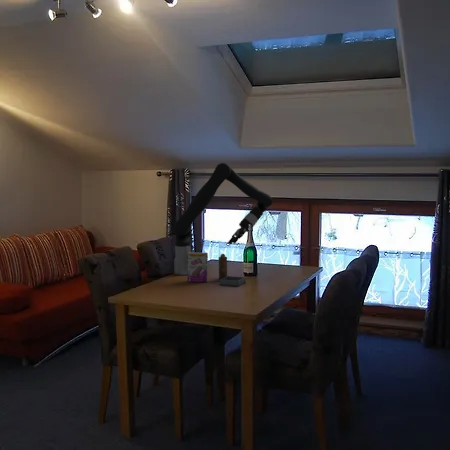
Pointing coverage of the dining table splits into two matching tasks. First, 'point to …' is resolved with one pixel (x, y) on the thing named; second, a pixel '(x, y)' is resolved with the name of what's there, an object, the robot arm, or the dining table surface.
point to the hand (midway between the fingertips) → (231, 242)
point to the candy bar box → (197, 267)
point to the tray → (232, 281)
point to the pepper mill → (222, 266)
